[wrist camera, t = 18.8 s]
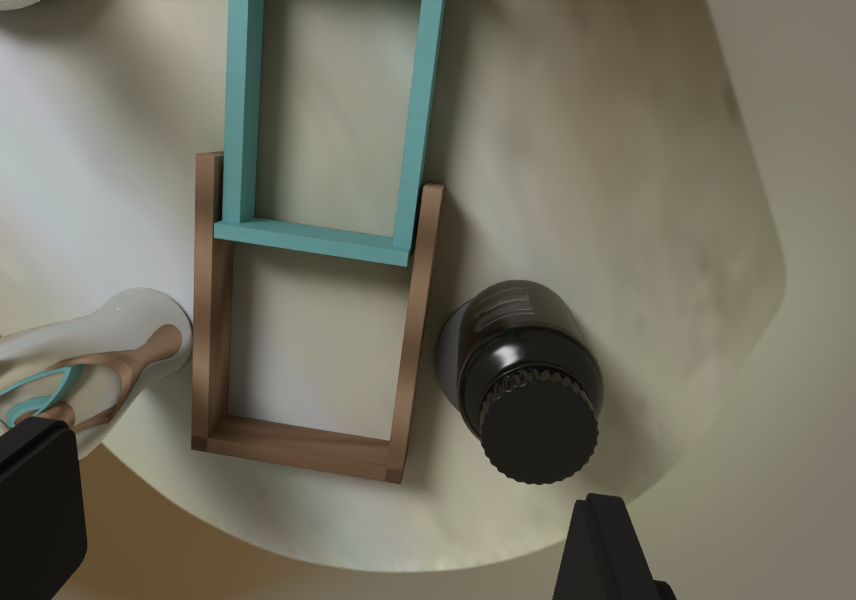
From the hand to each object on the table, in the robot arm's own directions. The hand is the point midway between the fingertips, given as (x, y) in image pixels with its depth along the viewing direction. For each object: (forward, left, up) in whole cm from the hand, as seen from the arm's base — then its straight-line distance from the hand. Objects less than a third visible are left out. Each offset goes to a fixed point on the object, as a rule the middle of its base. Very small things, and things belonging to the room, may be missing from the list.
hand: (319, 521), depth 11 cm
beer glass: (+8, -17, -25) cm, 31 cm away
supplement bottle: (+4, +6, -24) cm, 25 cm away
